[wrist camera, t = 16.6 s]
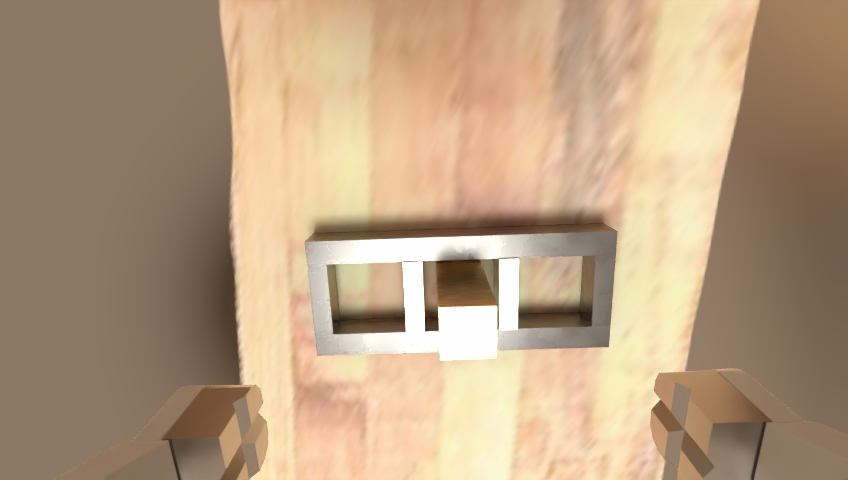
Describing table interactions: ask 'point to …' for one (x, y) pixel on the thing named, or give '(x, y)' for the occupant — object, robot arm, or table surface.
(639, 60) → the table surface
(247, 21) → the table surface
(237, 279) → the table surface
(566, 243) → the grey compartment tray
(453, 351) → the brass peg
